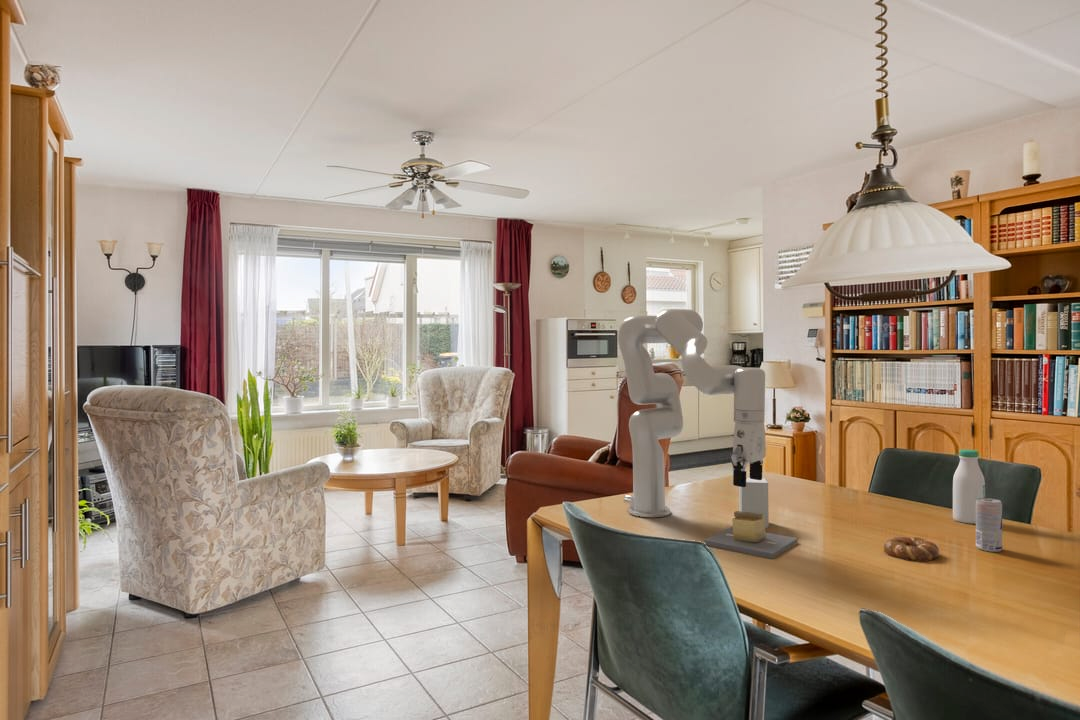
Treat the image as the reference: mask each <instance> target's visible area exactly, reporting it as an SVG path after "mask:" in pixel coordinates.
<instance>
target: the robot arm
mask: <svg viewBox="0 0 1080 720" xmlns="http://www.w3.org/2000/svg"><path fill="white" fill-rule="evenodd" d="M619 326H620V327H619V329H618V334H617V342H618V346H619V350H620V353H621V356H622V359H623V365H624V370H625V377H626V383H627V388H628V389H627V391H628V395H629V398H630V401H631V402H632V404H636V405H640V406H643V405H656V407H655V408H654V407H653V408H644V409H643V408H642V409H639V410H637V411H635V412H633V413H632V414H631V416H630V417H629V420H628V432H629V435H630V439H631V446H632V447H631V448H632V484H633V486H632V493H633V494H632V495H629V494H628V495H627V494H626V495H625V496H624V498H623V503H626V504H629V505H630V506H629V507H628V508H627V509H628V513H629V514H630V515H632V516H635V517H639V516H640V517H641V518H660V517H666V516H668V515H670V514H671V508H670V507H668V506H667V505H666V491H665V490H666V488H665V487H666V485H665V484H666V483H665V482H666V481H665V478H666V477H665V475H666V474H665V471H666V470H665V453H664V450H663V447H662V446H661V444H660V442H659V440H665V439H670V438H675V437H677V436H679V435H680V434H681V432H682V431H683V427H684V417H683V411H682V405H681V400H680V399H681V398H680V393H679V387H678V384H677V382H676V380H675V378H674V377H672V376H671V375H670V374H668V373H665V372H656V373H655V371H654V366H653V365H654V364H653V360H652V357H651V355H650V353H649V351H648V349H646V347H644V346H643V345H644V344H667V343H668V344H669V345H670V346H671V348H673V349H674V351H675V352H676V353H677V354H678V355H680V357H681V366H682V370H683V373H684V375H685V377H686V378H687V379H688V380H689V382H691V384H692V385H693V386H694V387H695V388H696V389H697V390H699V391H700V392H701V393H703V394H705V395H708V396H717V395H729V394H730V395H732V394H733V422H734V428H733V429H734V431H733V441H732V443H733V444H732V445H733V446H732V454H731V464H732V473H733V475H732V478H733V479H732V481H733V482H732V485H733V486H735V487H738V488H739V487H746V478H747V471H746V468H747V465H748V463H749V478H750V479H755V480H762V478H763V464H764V459H765V457H766V456H767V454H766V453H767V452H766V451H767V449H766V447H767V445H766V443H767V442H766V430H765V429H766V428H765V413H766V412H765V408H766V407H765V406H766V373H765V370H764V369H762V368H759V367H743V366H740V365H733V364H732V365H710V364H709V363H708V362H707V361H706V360H704V359H703V357H702V355H703V354H704V352H705V350H706V349H707V348H708V347H707V346H708V339H707V337H706V336H705V334H703V333H702V331H703V328H704V323H703V319H702V317H701V315H700V314H699V313H698V312H697V311H695V310H693V309H688V308H687V309H680V308H679V309H678V308H676V309H675V308H672V309H671V308H669V309H665V310H663V311H661V312H660V313H658V314H657V315H649V314H648V315H646V314H644V315H634V316H630V317H627V318H626V319H624V320H623V321H622V323H621V324H620V325H619Z"/></svg>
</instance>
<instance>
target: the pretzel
mask: <svg viewBox="0 0 1080 720" xmlns="http://www.w3.org/2000/svg"><path fill="white" fill-rule="evenodd" d="M883 553H884V554H886V555H887V554H888V555H887V556H890V557H893V556H894V557H893V558H899V557H900V559H903V560H905V559H908V560H907V561H917V562H926V560H927V561H932V560H936V559H938V557H939V553H940V549H939V547H938V546H937V544H935V543H934V542H932V541H927V539H925V538H923V537H922V538H921V537H918V536H917V537H915V536H912V537H906V536H895V537H893V538H890V539H888V540H886V542H885V543H884V544H883Z"/></svg>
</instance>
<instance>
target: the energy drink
mask: <svg viewBox="0 0 1080 720" xmlns="http://www.w3.org/2000/svg"><path fill="white" fill-rule="evenodd" d="M975 547H976V548H977V549H978V550H980V549H981V550H980V551H983V550H984V551H983V552H988V551H989V552H988V553H999V552H1002V551H1003V503H1002V501H1001V500H1000V499H996V498H991V497H985V498H977V501H976V524H975Z"/></svg>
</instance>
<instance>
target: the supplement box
mask: <svg viewBox="0 0 1080 720" xmlns="http://www.w3.org/2000/svg"><path fill="white" fill-rule="evenodd" d="M738 505H739V506H738V507H739V508H738V511H741V512H751V513H761V514H763V516H765V529H768V528H769V526H770V524H769V522H770V521H769V520H770V519H769V516H770V515H769V513H770V512H769V482H768V481H767V480H766V478H765V477H762V480H755V479H750V477H746V487H739V486H738Z"/></svg>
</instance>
